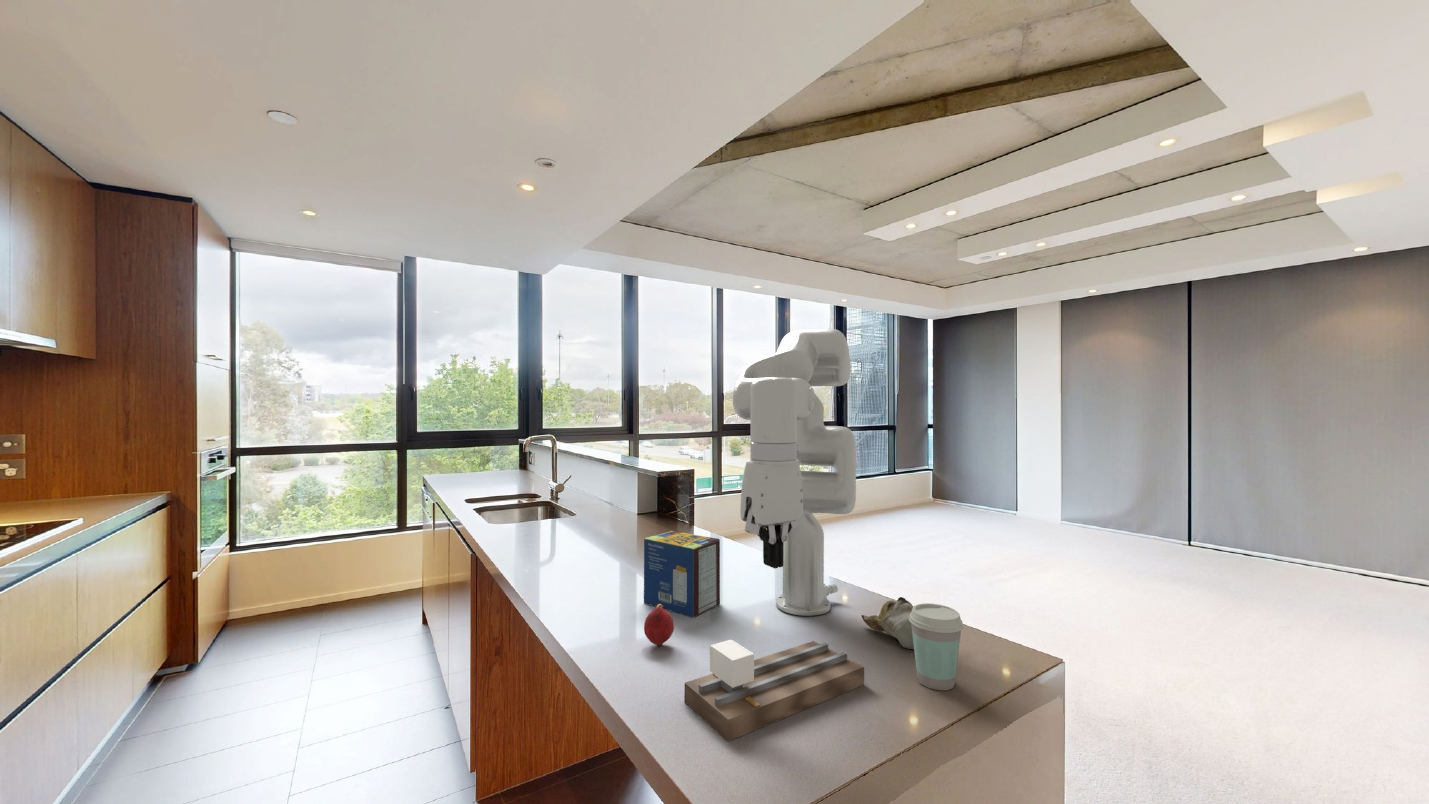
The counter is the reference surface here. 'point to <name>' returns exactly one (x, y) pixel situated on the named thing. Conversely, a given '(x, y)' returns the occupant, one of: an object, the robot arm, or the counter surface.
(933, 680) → the coffee cup
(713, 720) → the linear slide rail
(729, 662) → the white block
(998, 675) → the counter surface
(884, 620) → the ceramic sculpture
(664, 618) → the onion
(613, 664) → the counter surface
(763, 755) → the counter surface
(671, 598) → the protein box
